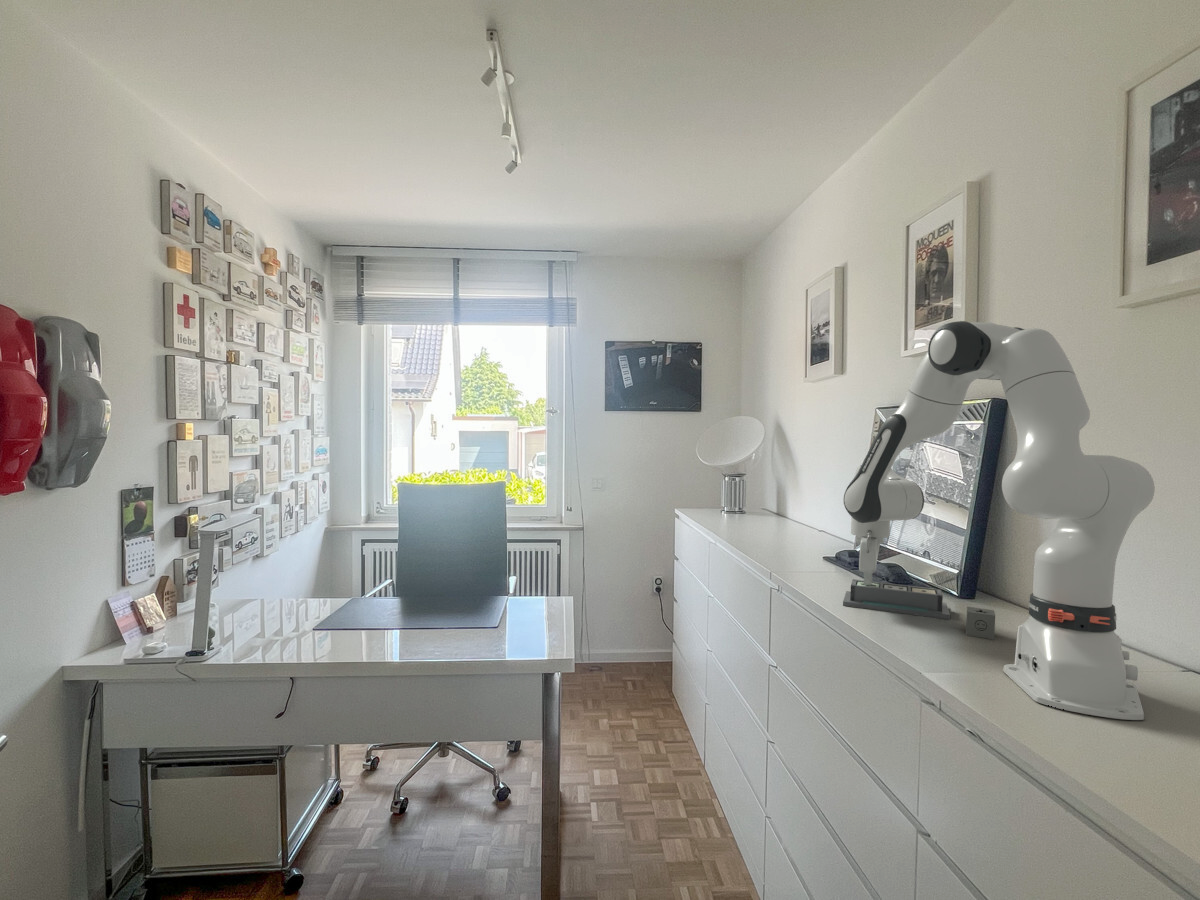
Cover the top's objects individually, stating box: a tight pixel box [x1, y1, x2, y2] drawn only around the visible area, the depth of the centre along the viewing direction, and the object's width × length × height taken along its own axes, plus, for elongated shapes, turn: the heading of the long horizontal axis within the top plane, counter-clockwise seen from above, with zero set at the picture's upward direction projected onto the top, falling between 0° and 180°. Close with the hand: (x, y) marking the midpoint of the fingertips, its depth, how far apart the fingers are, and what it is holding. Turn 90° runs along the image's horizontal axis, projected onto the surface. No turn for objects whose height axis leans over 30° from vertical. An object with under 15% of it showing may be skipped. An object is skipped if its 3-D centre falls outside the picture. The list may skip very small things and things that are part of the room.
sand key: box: [912, 588, 936, 594], centre depth 157 cm, size 5×5×2 cm
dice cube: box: [965, 606, 996, 640], centre depth 139 cm, size 5×5×5 cm
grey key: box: [884, 585, 907, 591], centre depth 160 cm, size 5×5×2 cm
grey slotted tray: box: [842, 578, 951, 620], centre depth 160 cm, size 12×23×5 cm, turn 66°
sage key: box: [857, 582, 879, 588], centre depth 162 cm, size 5×5×2 cm
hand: (867, 583), depth 162 cm, fingers closed
